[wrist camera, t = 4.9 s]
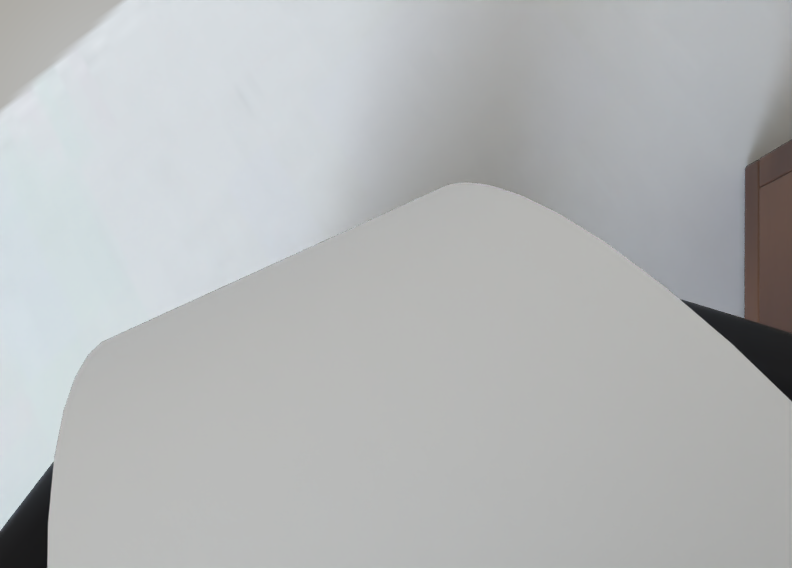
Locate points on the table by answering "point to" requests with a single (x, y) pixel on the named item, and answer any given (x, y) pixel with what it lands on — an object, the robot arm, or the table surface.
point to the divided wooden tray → (769, 239)
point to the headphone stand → (427, 413)
